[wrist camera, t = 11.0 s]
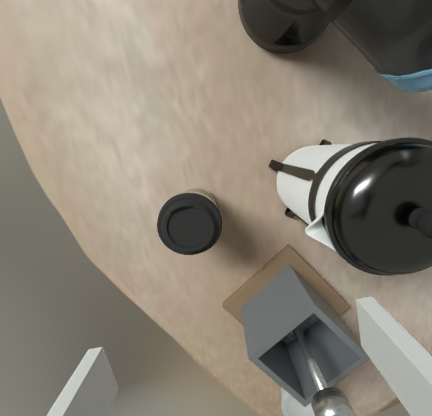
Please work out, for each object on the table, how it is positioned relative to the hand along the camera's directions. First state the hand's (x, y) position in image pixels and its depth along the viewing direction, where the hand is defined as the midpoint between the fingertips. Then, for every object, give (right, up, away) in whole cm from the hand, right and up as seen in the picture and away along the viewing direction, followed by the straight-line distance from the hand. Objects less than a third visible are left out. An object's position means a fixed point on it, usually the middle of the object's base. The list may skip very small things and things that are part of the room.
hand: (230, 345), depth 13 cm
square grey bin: (+13, -12, +40) cm, 44 cm away
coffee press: (+17, +13, +34) cm, 40 cm away
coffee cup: (-4, +8, +36) cm, 37 cm away
